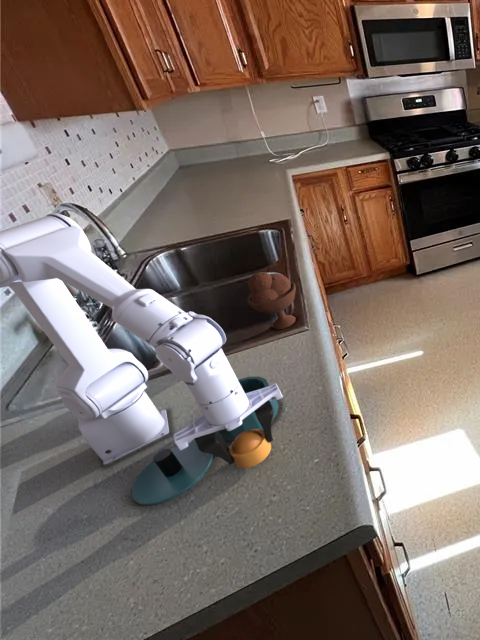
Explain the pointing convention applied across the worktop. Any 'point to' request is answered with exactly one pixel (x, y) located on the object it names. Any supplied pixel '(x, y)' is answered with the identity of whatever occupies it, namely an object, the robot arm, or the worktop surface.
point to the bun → (250, 448)
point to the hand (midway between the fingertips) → (250, 448)
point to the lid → (170, 474)
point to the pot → (251, 420)
